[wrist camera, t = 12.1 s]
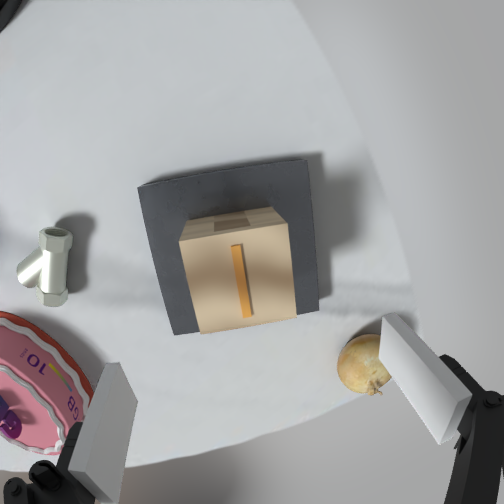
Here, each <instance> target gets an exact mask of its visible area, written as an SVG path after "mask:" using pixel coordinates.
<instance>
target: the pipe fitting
mask: <svg viewBox="0 0 504 504" xmlns="http://www.w3.org/2000/svg"><path fill="white" fill-rule="evenodd" d="M72 241H73V235H72V233H71V232H70V231H68V230H66V229H64V228H59V227H46V228H44V229H42V230H41V231H40V232H39V242H38V244H39V245H40V246H39V247H38V248H37V249H36V250H35V251H33V252H32V253H31V254H30V255H29V256H27V257H26V258H25V259H24V260H23V261H22V262H20V263H19V264H18V266H17V276H18V279H19V281H20V282H21V283H22V284H23V285H24V286H25V287H27V288H33V287H35V286H36V285H37V286H36V297H37V298H38V300H39V301H40V302H41V303H42V304H43V305H45V306H49V307H58V306H61V305H63V304H64V303H65V302H66V300H67V299H68V288H67V287H66V275H67V263H68V252H69V249H70V248H71V247H72Z"/></svg>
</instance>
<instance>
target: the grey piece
mask: <svg viewBox="0 0 504 504" xmlns="http://www.w3.org/2000/svg"><path fill="white" fill-rule="evenodd" d="M137 188H138V193H139V199H140V204H141V208H142V213H143V218H144V223H145V227H146V232H147V236H148V240H149V245H150V249H151V253H152V257H153V261H154V265H155V269H156V273H157V277H158V281H159V285H160V288H161V292H162V296H163V299H164V303H165V307H166V310H167V314H168V317H169V320H170V324H171V327H172V330H173V334H174V335H181V334H188V333H195V332H200V330H199V326H198V322H197V318H196V314H195V310H194V306H193V302H192V298H191V294H190V289H189V285H188V281H187V277H186V272H185V268H184V264H183V259H182V254H181V250H180V245H179V239H180V237H181V234H182V232H183V229H184V227H185V224H186V221H187V220H193V219H198V218H204V217H210V216H216V215H222V214H228V213H234V212H240V211H246V210H252V209H258V208H265V207H272V208H273V209H274V210H275V211H276V212H277V213H278V214H279V215H280V216H281V217H282V218H283V219H284V220H285V221H286V222H287V224H288V233H289V242H290V251H291V261H292V271H293V281H294V292H295V303H296V314H297V315H299V314H304V313H309V312H314V311H319V297H318V279H317V264H316V250H315V237H314V225H313V214H312V203H311V193H310V183H309V174H308V165H307V160H303V159H300V160H291V161H283V162H275V163H267V164H260V165H253V166H246V167H239V168H232V169H226V170H220V171H214V172H208V173H202V174H196V175H191V176H185V177H180V178H175V179H170V180H164V181H159V182H155V183H150V184H145V185H141V186H139V187H137Z"/></svg>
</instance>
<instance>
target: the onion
mask: <svg viewBox="0 0 504 504" xmlns="http://www.w3.org/2000/svg"><path fill="white" fill-rule="evenodd" d="M380 339H381V336H380V335H377V334H365V335H361V336H359V337H356V338H354V339H352V340H351V341H349V342H348V343H347V345H346V346H345V347H344V348H343V349H342V351H341V353H340V355H339V358H338V362H337V370H338V374H339V377H340V379H341V381H342V382H343V384H344V385H345V386H346V387H347V388H348V389H350V390H352V391H354V392H357V393H368V395H374V394H375V393H379V394H381V395H382V392H380V391H379V392H378V388H380V387H381V386H383V385H384V384H385V383H387V382H388V381H389V380H390V379H391V377H392V376H391V375H390V374H389V372H388V371H387V369H386V368H385V367H384V365H383V364H382V362H381V361H380V360H379V349H380Z"/></svg>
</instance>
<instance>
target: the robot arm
mask: <svg viewBox="0 0 504 504" xmlns="http://www.w3.org/2000/svg"><path fill="white" fill-rule="evenodd" d="M21 1H22V0H0V31H1V30H2V29H3V28H4V26H5V25H6V24H7V23H8V21H9V20H10V19H11V17H12V16H13V14H14V13H15V11H16V10H17V8H18V6H19V5H20V3H21ZM379 360H380V361H381V362H382V364H383V365H384V367H385V368H386V369H387V371H388V372H389V374H390V375H391V376H392V378H393V379H394V381H395V382H396V383H397V385H398V386H399V388H400V389H401V390H402V392H403V393H404V395H405V396H406V398H407V399H408V400H409V402H410V403H411V405H412V406H413V408H414V409H415V410H416V412H417V413H418V415H419V416H420V418H421V419H422V421H423V422H424V424H425V425H426V427H427V428H428V429H429V431H430V432H431V434H432V435H433V437H434V438H435V440H436V441H437V443H438V444H439V445H440V444H442V443H443V442H446V441H448V440H450V439H451V438H453V436H454V435H455V433H456V430H458V431H459V432H460V434H461V435H460V437H459V439H458V441H457V443H456V445H455V447H454V449H456V448H457V452H456V457H455V462H454V467H453V471H452V475H451V479H450V483H449V487H448V491H447V494H446V498H445V502H444V504H496V502H497V496H498V490H499V484H500V476H501V468H502V469H503V477H504V395H502V396H501V395H500V394H499V393H497V392H494V391H485V390H484V389H483V388H482V387H481V386H480V385H479V384H478V383H477V382H476V381H475V380H474V379H473V378H472V377H471V375H470V374H469V373H468V372H466V370H465V369H464V368H463V367H461V365H460V364H459V363H458V362H457V361H456V360H455V359H454V358H452V357H450V356H448V355H445V354H444V355H442V356H440V357H438V356H437V355H436V354H435V353H434V352H433V351H432V350H431V349H430V348H429V347H428V346H427V345H426V343H425V342H424V341H423V340H422V339H421V338H420V337H419V336H418V335H417V334H416V333H415V332H414V331H413V330H412V329H411V328H410V327H409V326H408V325H407V324H406V323H405V322H404V321H403V320H402V319H401V318H400V317H399V316H398V315H397V314H396V313H392V314H388V315H384V316H382V328H381V339H380V349H379ZM137 403H138V401H137V399H136V397H135V395H134V393H133V390H132V388H131V386H130V384H129V382H128V380H127V378H126V376H125V373H124V371H123V369H122V367H121V365H120V362H118V363H106V365H105V367H104V370H103V372H102V375H101V377H100V380H99V382H98V385H97V387H96V390H95V392H94V395H93V398H92V400H91V403H90V406H89V408H88V411H87V414H86V416H85V419H84V422H75V423H74V424H73V426H72V427H71V428H70V429H69V431H68V434H67V437H66V440H65V442H64V447H63V448H62V451H61V453H60V456H59V459H58V462H57V465H56V467H55V465H54V464H53V463H52V462H50V461H48V460H41V461H38V462H36V463H35V464H33V465H32V467H31V468H30V471H29V479H30V480H31V481H32V482H33V483H31V484H26V483H25V482H24V481H23V480H22V479H20V478H18V477H14V478H11V479H9V480H8V481H7V482H6V484H5V486H4V491H3V493H4V504H94V502H95V498H96V499H97V500H98V501H99V502H100V503H101V504H118V503H119V496H120V490H121V484H122V478H123V472H124V467H125V461H126V456H127V451H128V446H129V441H130V436H131V431H132V426H133V421H134V417H135V412H136V407H137ZM457 446H458V447H457Z"/></svg>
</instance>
